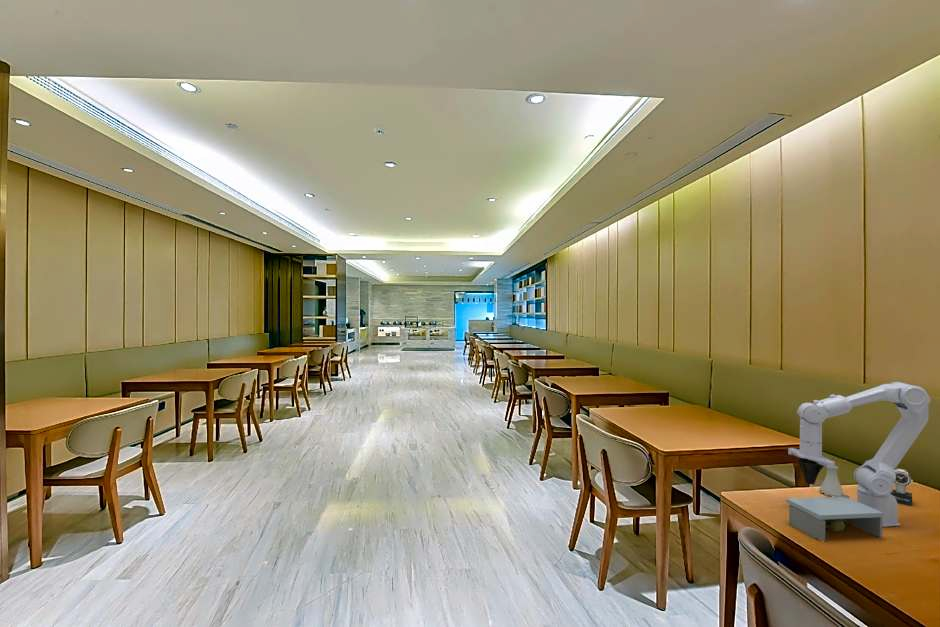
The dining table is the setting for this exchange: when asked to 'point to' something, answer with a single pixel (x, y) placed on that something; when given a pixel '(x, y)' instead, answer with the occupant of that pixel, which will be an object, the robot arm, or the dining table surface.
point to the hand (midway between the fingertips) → (810, 483)
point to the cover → (834, 507)
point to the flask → (831, 483)
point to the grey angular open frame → (817, 526)
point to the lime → (835, 524)
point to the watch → (902, 487)
